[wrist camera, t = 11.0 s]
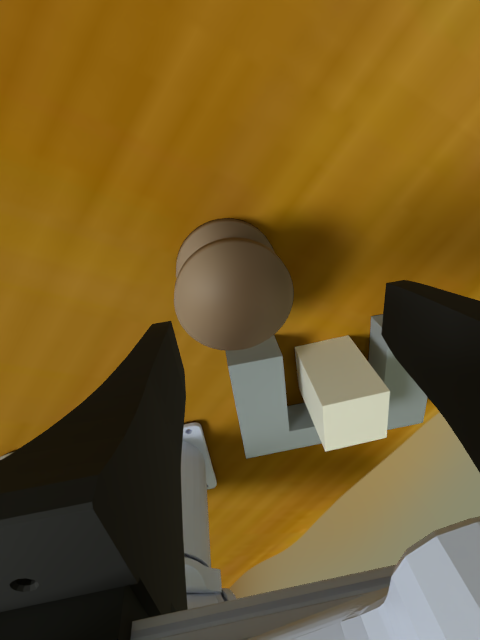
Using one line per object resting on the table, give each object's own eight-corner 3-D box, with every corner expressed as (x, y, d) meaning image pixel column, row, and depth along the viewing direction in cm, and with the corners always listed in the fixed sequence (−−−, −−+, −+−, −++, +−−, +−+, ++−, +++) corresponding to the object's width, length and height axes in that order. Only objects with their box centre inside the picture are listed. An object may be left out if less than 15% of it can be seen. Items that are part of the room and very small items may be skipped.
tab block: (298, 388, 27) (325, 451, 22) (294, 346, 25) (322, 406, 20) (348, 377, 27) (386, 437, 22) (348, 335, 25) (389, 391, 20)
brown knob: (188, 318, 23) (188, 359, 19) (165, 228, 20) (160, 255, 16) (278, 302, 23) (296, 339, 19) (269, 210, 20) (289, 232, 16)
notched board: (241, 433, 29) (246, 458, 27) (224, 344, 24) (228, 366, 22) (405, 400, 29) (422, 422, 27) (419, 307, 25) (441, 325, 23)
